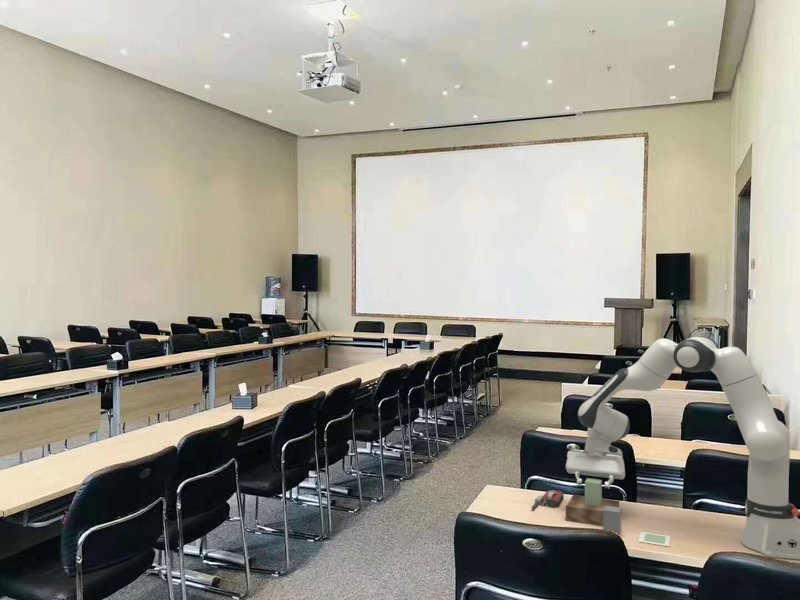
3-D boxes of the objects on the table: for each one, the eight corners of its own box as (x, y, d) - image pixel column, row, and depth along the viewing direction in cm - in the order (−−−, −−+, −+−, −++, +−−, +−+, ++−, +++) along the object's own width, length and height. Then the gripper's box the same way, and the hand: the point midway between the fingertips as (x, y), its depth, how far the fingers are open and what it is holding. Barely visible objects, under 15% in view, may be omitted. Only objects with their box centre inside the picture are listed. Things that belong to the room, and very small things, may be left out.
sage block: (601, 502, 223) (601, 479, 223) (599, 506, 218) (599, 483, 218) (587, 500, 225) (587, 477, 225) (584, 504, 220) (584, 481, 220)
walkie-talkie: (542, 496, 247) (529, 511, 228) (542, 484, 246) (529, 499, 228) (564, 499, 243) (553, 515, 225) (565, 487, 243) (554, 503, 225)
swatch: (670, 537, 204) (670, 535, 204) (669, 547, 196) (669, 545, 195) (641, 532, 208) (641, 531, 208) (638, 542, 199) (638, 540, 199)
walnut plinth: (619, 514, 224) (619, 500, 224) (614, 527, 212) (614, 513, 212) (573, 508, 231) (573, 494, 231) (565, 520, 219) (565, 506, 219)
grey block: (621, 531, 208) (621, 507, 208) (619, 537, 204) (619, 512, 204) (605, 529, 211) (605, 505, 210) (603, 534, 206) (603, 510, 206)
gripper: (567, 444, 232) (561, 477, 223) (625, 450, 223) (622, 485, 214) (569, 453, 236) (564, 486, 227) (627, 459, 227) (623, 494, 218)
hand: (592, 485), depth 221 cm, fingers open, 8 cm apart
